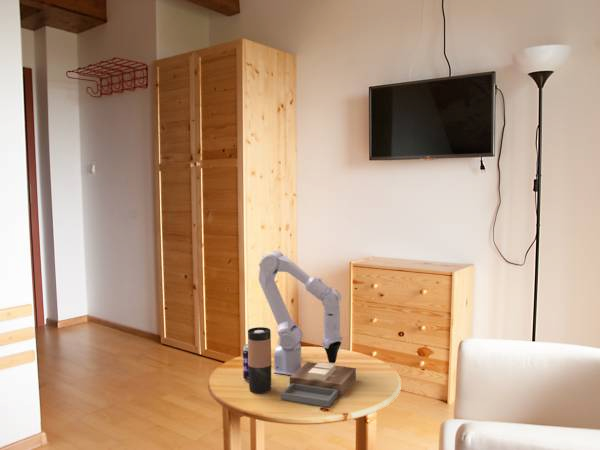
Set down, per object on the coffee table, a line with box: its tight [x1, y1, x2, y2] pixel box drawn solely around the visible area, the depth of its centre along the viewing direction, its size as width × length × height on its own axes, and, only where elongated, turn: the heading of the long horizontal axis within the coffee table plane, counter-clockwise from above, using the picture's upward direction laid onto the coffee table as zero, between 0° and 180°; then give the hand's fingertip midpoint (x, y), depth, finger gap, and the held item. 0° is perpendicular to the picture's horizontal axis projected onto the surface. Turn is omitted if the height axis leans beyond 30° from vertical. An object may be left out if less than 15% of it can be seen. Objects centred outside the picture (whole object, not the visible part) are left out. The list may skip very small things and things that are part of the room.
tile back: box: [314, 361, 336, 374], centre depth 175 cm, size 6×4×2 cm
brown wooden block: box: [289, 361, 357, 398], centre depth 173 cm, size 18×16×4 cm
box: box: [280, 383, 339, 409], centre depth 162 cm, size 16×9×2 cm, turn 67°
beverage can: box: [242, 343, 249, 382], centre depth 178 cm, size 6×6×12 cm
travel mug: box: [247, 326, 272, 395], centre depth 169 cm, size 8×8×20 cm
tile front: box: [308, 368, 330, 381], centre depth 169 cm, size 6×4×2 cm
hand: (332, 362), depth 181 cm, fingers closed
